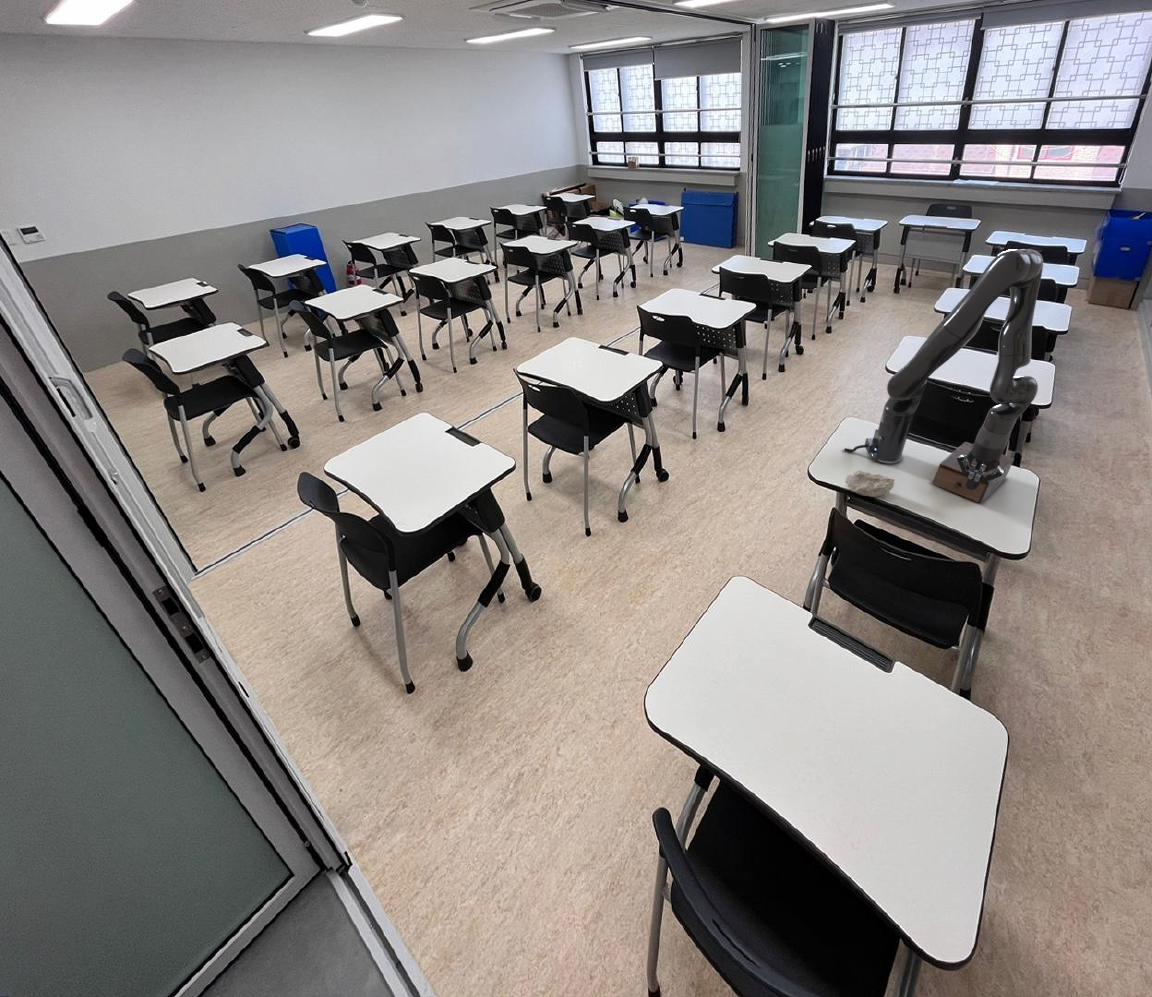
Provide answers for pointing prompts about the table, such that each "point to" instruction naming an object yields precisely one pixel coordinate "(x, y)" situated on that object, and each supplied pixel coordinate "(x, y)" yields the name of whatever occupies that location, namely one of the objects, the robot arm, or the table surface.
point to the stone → (869, 484)
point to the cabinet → (991, 485)
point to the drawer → (958, 484)
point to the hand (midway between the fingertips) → (970, 488)
